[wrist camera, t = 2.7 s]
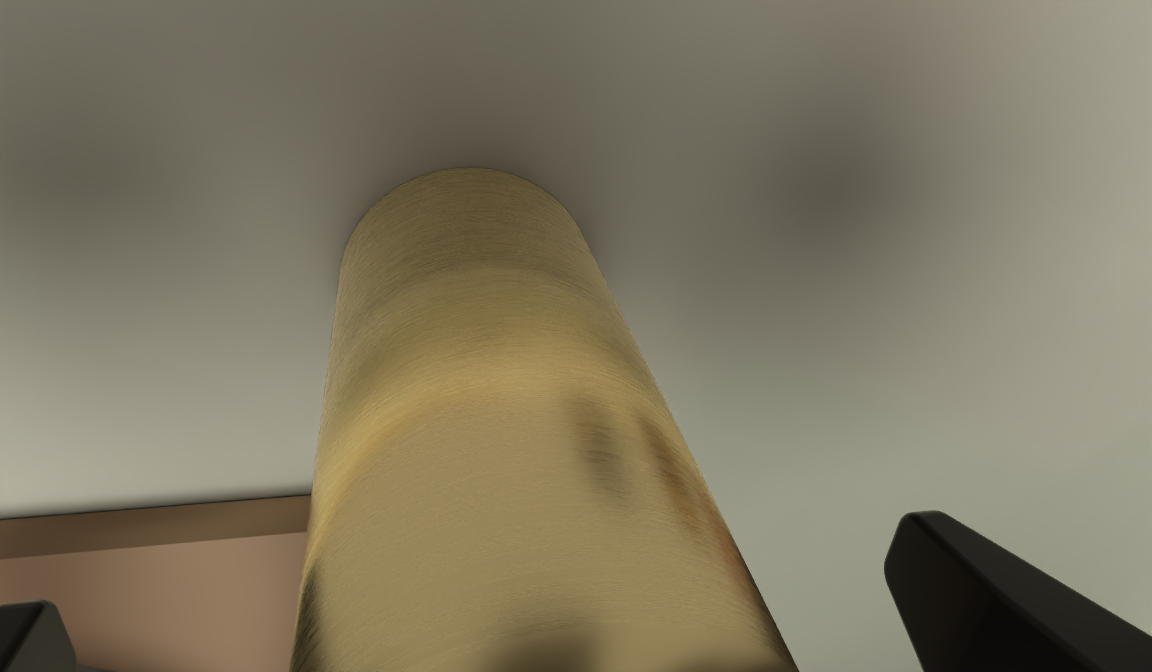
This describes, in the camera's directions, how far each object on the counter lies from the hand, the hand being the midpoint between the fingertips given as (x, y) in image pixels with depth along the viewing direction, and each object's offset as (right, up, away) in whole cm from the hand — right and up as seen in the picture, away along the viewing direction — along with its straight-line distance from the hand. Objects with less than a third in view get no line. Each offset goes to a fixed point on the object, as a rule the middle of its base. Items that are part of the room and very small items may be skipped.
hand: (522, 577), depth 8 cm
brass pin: (-1, +3, +5) cm, 7 cm away
